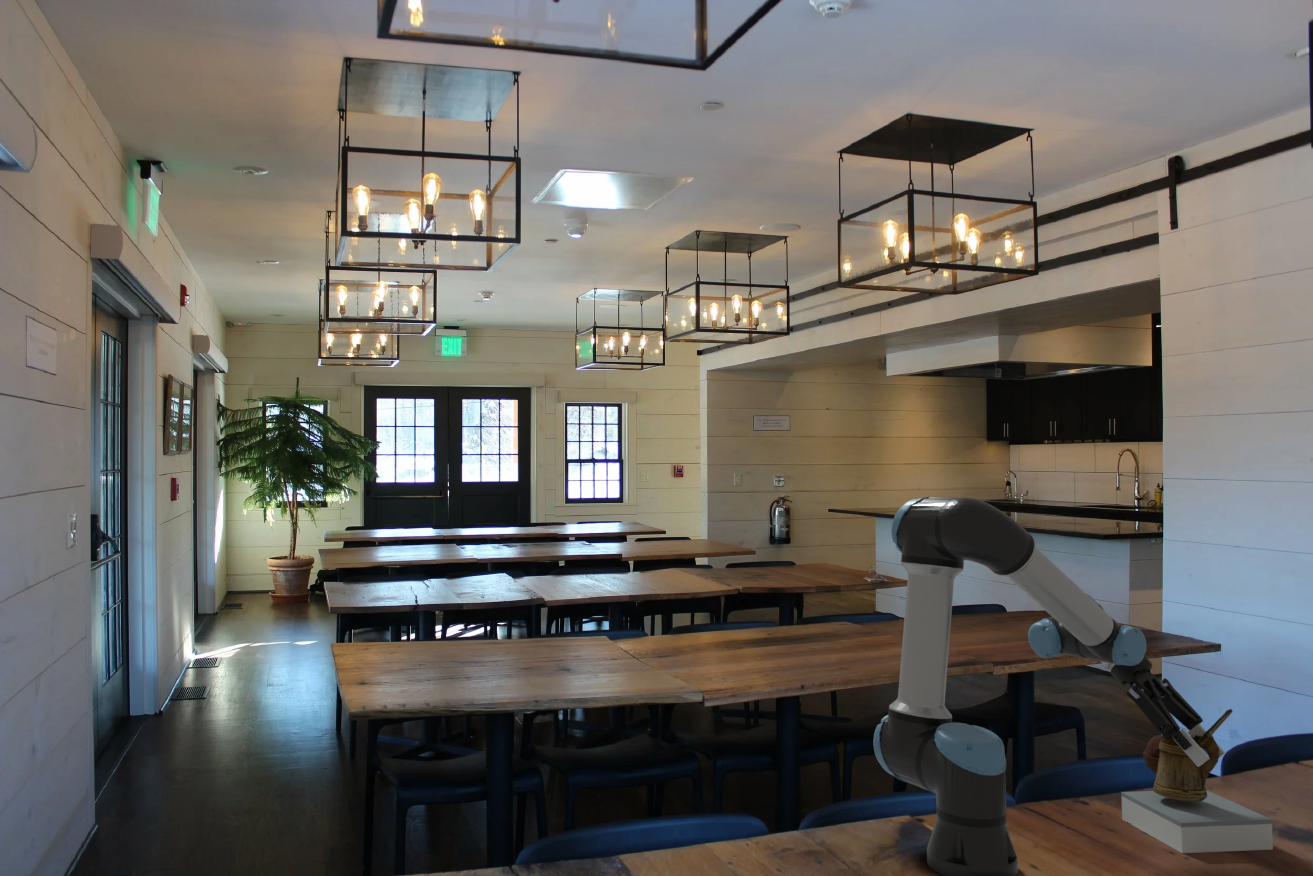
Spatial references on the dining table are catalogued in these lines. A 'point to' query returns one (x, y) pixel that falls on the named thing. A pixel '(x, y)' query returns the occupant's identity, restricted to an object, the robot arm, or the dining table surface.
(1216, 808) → the grey flat block
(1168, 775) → the wooden mug
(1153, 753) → the ice cream bowl
